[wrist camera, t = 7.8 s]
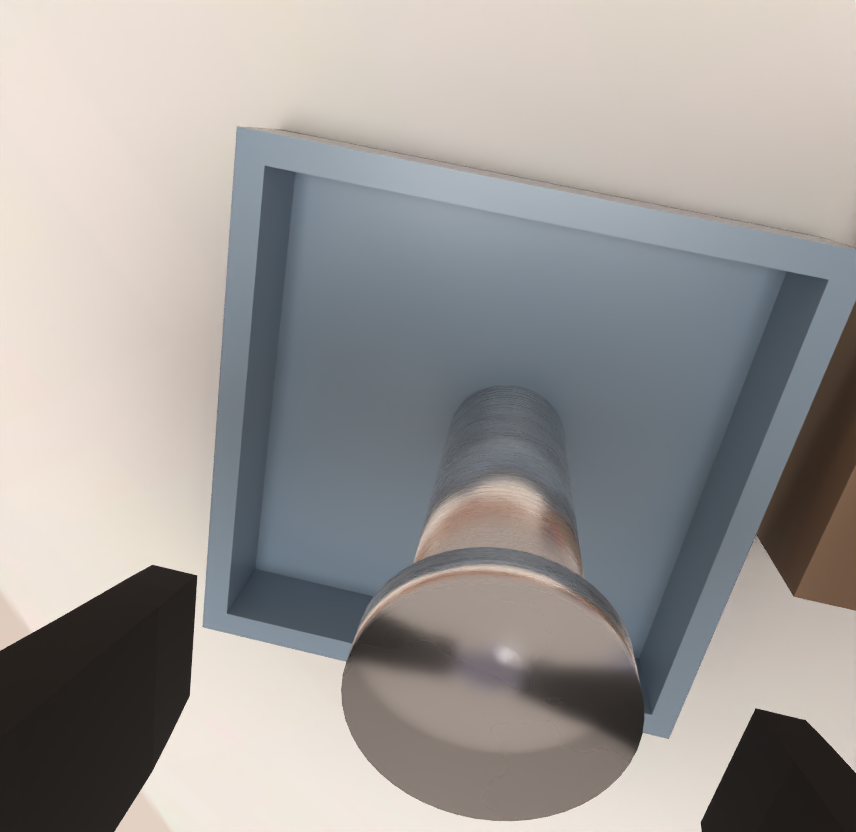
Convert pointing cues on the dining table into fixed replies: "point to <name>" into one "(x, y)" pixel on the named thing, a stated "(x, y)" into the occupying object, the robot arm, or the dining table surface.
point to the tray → (499, 365)
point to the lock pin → (496, 635)
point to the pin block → (820, 491)
